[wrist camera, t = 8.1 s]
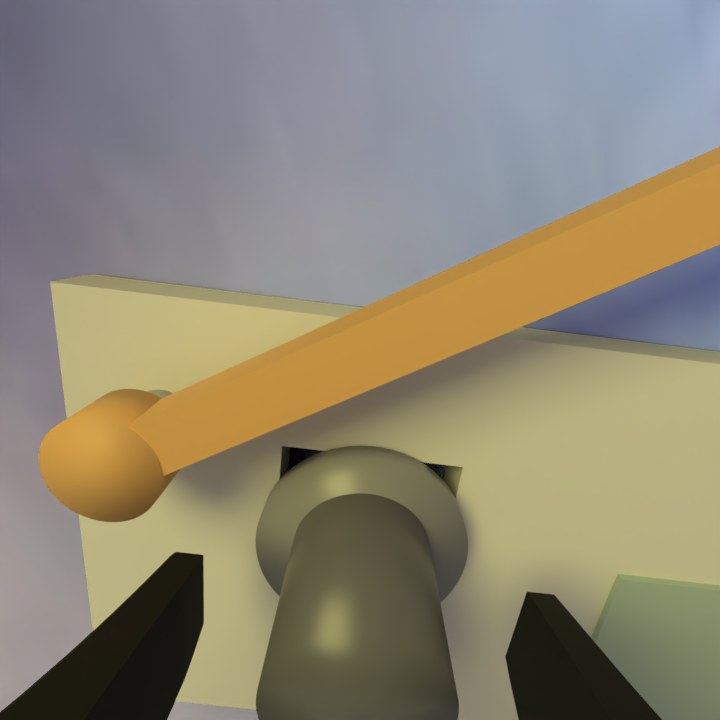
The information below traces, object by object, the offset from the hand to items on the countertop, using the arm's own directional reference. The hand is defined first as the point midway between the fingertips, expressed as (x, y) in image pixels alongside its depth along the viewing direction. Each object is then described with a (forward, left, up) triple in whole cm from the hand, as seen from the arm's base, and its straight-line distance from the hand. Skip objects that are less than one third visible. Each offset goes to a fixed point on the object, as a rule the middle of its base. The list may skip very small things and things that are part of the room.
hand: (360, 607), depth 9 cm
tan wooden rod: (+6, 0, -1) cm, 7 cm away
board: (-1, -3, -4) cm, 5 cm away
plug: (0, 0, -4) cm, 4 cm away
